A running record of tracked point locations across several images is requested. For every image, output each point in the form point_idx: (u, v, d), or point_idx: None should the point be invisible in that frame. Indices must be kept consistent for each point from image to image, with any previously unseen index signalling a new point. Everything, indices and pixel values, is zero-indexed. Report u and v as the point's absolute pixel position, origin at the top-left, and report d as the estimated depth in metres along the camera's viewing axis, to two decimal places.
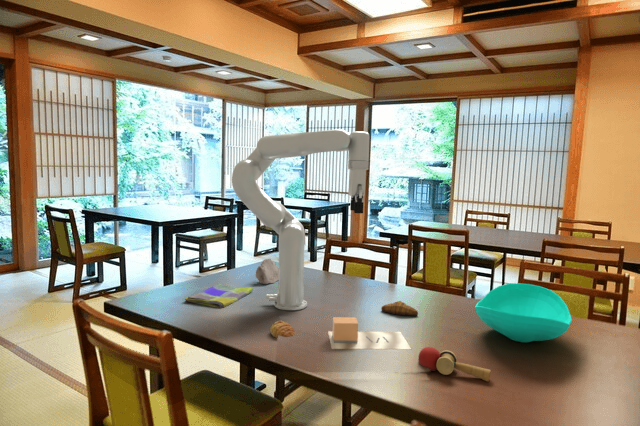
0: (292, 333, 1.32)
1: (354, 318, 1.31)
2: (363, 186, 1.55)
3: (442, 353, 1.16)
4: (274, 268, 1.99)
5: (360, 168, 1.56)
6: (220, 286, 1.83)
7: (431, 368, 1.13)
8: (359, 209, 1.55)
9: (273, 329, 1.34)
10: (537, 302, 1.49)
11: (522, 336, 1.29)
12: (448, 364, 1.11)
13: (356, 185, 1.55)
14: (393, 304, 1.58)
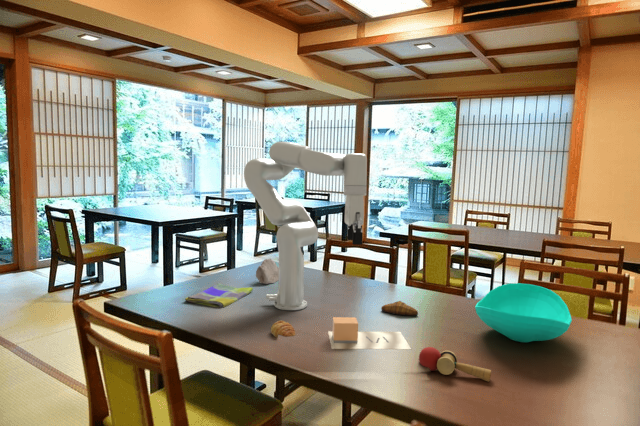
0: (293, 333, 1.32)
1: (354, 318, 1.31)
2: (362, 214, 1.39)
3: (443, 353, 1.16)
4: (274, 268, 1.99)
5: (358, 194, 1.39)
6: (220, 286, 1.83)
7: (432, 368, 1.12)
8: (358, 240, 1.39)
9: (274, 329, 1.34)
10: (537, 302, 1.49)
11: (522, 336, 1.29)
12: (449, 364, 1.11)
13: (354, 213, 1.39)
14: (393, 304, 1.58)
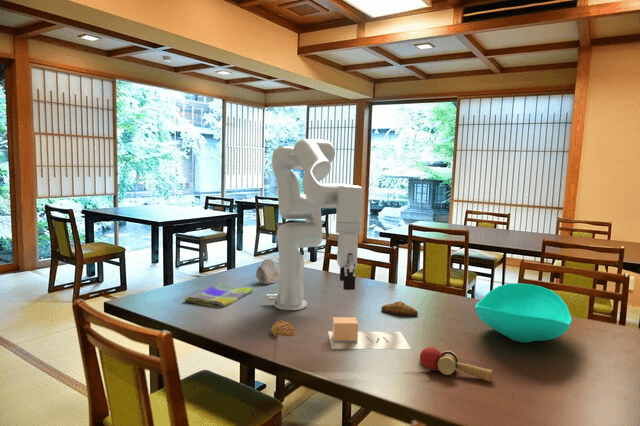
0: (293, 332, 1.32)
1: (354, 318, 1.31)
2: (355, 256, 1.22)
3: (443, 353, 1.16)
4: (275, 268, 1.99)
5: (351, 232, 1.22)
6: (220, 286, 1.83)
7: (432, 368, 1.12)
8: (350, 285, 1.21)
9: (274, 329, 1.34)
10: (537, 302, 1.49)
11: (522, 336, 1.29)
12: (449, 364, 1.11)
13: (346, 254, 1.21)
14: (393, 304, 1.58)
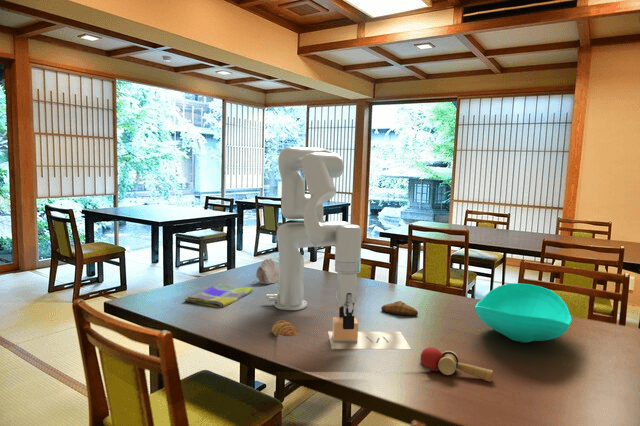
0: (294, 332, 1.32)
1: (354, 318, 1.31)
2: (354, 295, 1.23)
3: (444, 353, 1.16)
4: (275, 268, 1.99)
5: (350, 272, 1.23)
6: (220, 286, 1.83)
7: (433, 368, 1.12)
8: (349, 325, 1.22)
9: (275, 329, 1.35)
10: (537, 302, 1.49)
11: (522, 336, 1.29)
12: (450, 364, 1.11)
13: (345, 294, 1.22)
14: (393, 304, 1.58)
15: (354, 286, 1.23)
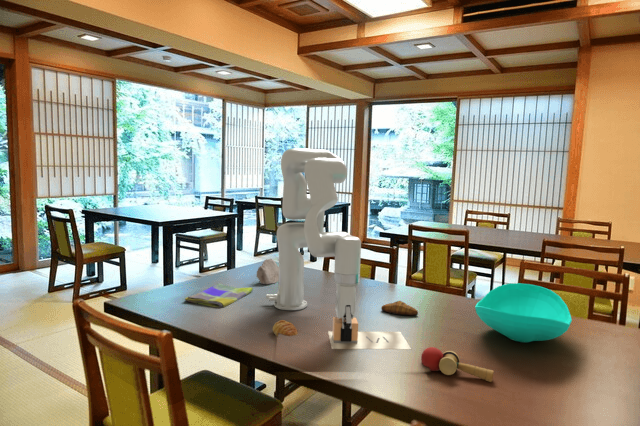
0: (295, 332, 1.32)
1: (354, 318, 1.31)
2: (352, 307, 1.23)
3: (445, 353, 1.16)
4: (275, 268, 1.99)
5: (349, 284, 1.24)
6: (220, 286, 1.83)
7: (434, 368, 1.12)
8: (346, 337, 1.25)
9: (276, 328, 1.35)
10: (537, 302, 1.49)
11: (522, 336, 1.29)
12: (451, 364, 1.10)
13: (344, 306, 1.23)
14: (393, 304, 1.58)
15: (353, 298, 1.23)
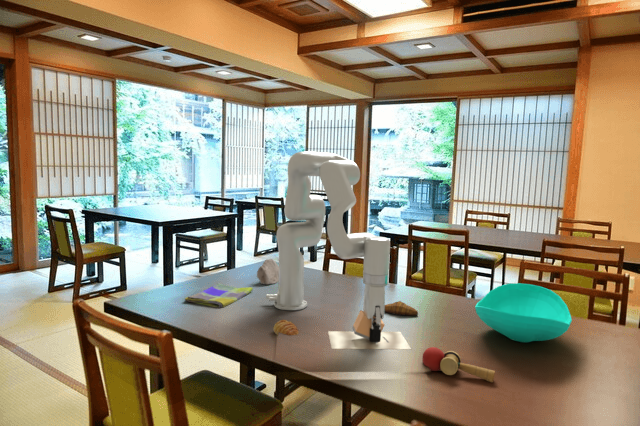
0: (296, 332, 1.33)
1: None
2: (382, 308, 1.24)
3: (446, 353, 1.16)
4: (276, 268, 1.99)
5: (378, 285, 1.24)
6: (220, 286, 1.83)
7: (435, 368, 1.12)
8: (376, 338, 1.26)
9: (277, 328, 1.35)
10: (537, 302, 1.49)
11: (522, 336, 1.29)
12: (452, 364, 1.10)
13: (373, 307, 1.23)
14: (393, 304, 1.58)
15: (383, 299, 1.24)
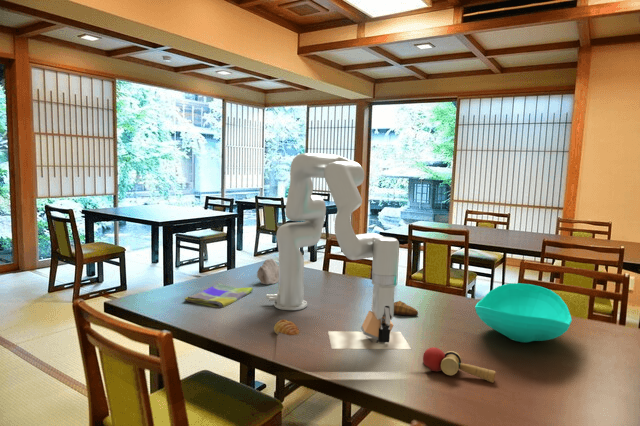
0: (297, 331, 1.33)
1: None
2: (391, 308, 1.24)
3: (447, 354, 1.16)
4: (276, 268, 1.98)
5: (388, 285, 1.24)
6: (220, 286, 1.83)
7: (435, 369, 1.12)
8: (385, 338, 1.26)
9: (277, 328, 1.35)
10: (537, 302, 1.49)
11: (522, 336, 1.29)
12: (453, 364, 1.10)
13: (383, 307, 1.24)
14: None
15: (392, 299, 1.24)
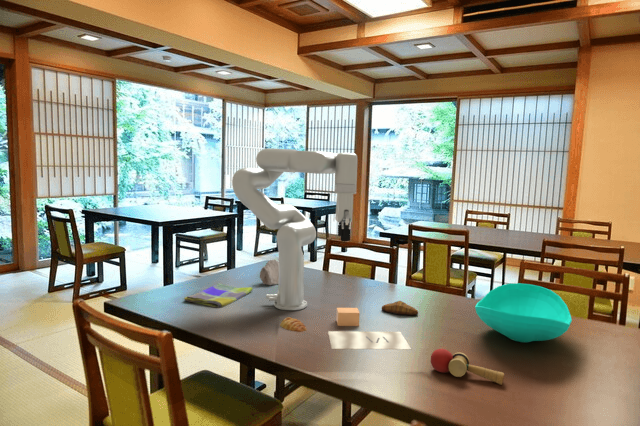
0: (305, 328, 1.36)
1: (356, 308, 1.45)
2: (350, 212, 1.44)
3: (455, 355, 1.15)
4: None
5: (347, 192, 1.45)
6: (220, 286, 1.83)
7: (443, 370, 1.12)
8: (346, 236, 1.44)
9: (284, 326, 1.37)
10: (537, 302, 1.49)
11: (522, 336, 1.29)
12: (461, 366, 1.10)
13: (343, 211, 1.44)
14: (393, 304, 1.59)
15: (350, 204, 1.44)
